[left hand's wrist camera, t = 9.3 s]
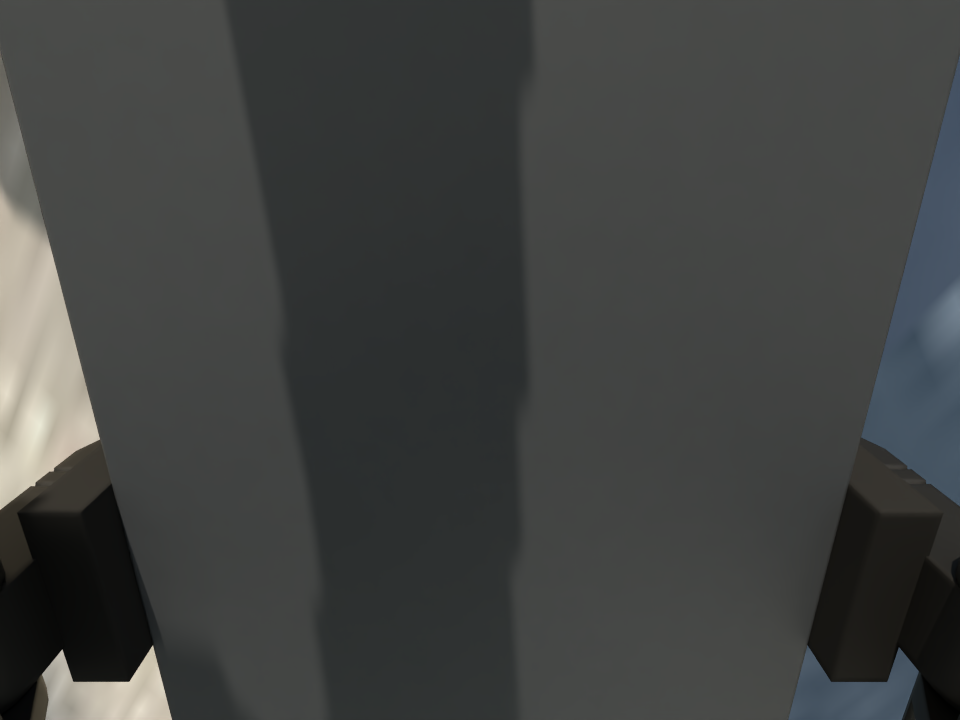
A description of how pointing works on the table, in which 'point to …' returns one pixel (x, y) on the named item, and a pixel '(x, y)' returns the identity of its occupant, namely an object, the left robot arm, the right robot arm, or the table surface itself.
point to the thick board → (480, 332)
